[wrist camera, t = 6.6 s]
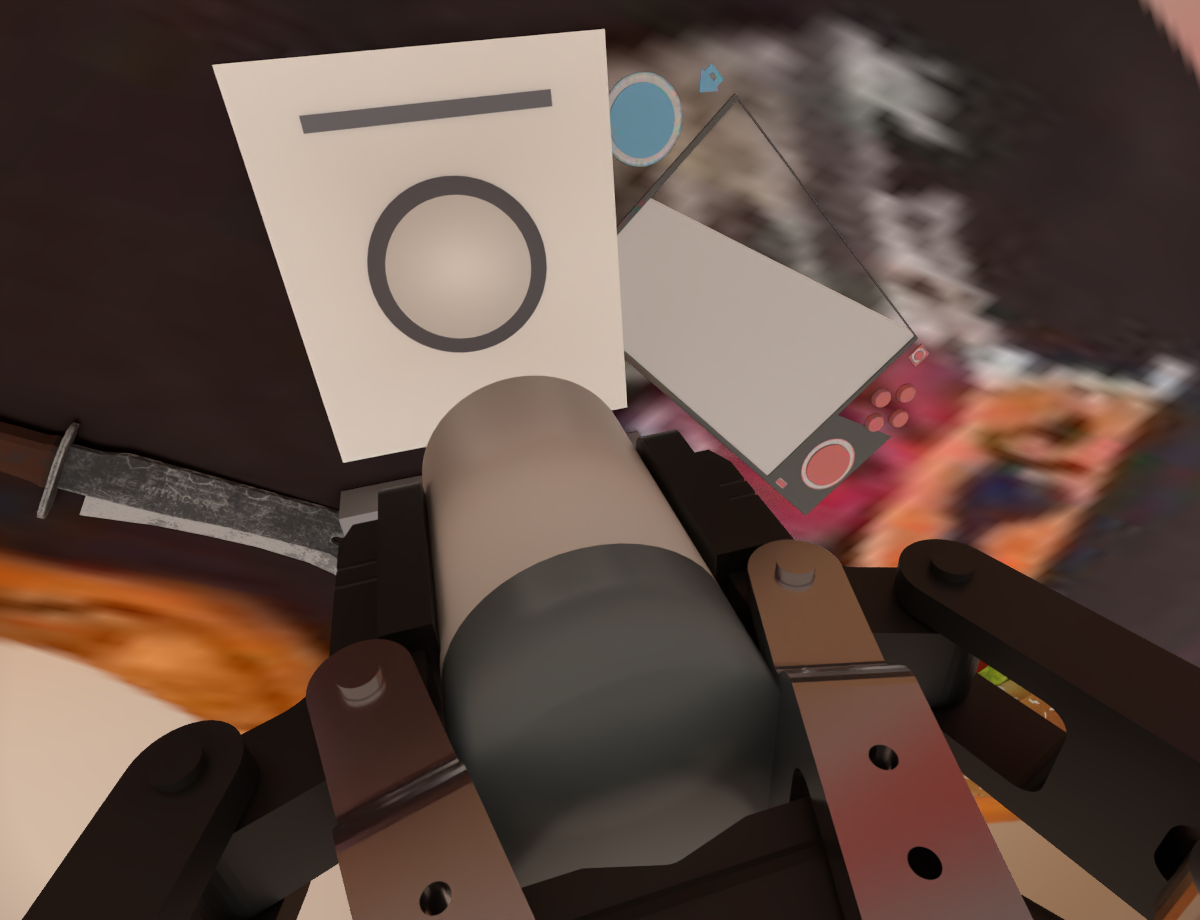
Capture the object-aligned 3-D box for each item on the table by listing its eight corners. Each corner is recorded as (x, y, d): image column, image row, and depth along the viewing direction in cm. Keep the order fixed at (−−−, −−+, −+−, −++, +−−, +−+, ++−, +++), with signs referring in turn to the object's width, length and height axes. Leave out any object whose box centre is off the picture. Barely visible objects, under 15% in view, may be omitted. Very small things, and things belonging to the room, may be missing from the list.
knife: (487, 615, 36) (533, 544, 35) (494, 643, 35) (542, 571, 33) (-207, 462, 23) (-187, 335, 21) (-249, 496, 21) (-230, 362, 20)
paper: (602, 29, 23) (605, 28, 22) (625, 404, 30) (628, 409, 30) (214, 64, 20) (211, 65, 20) (343, 459, 28) (343, 464, 28)
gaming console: (956, 382, 34) (807, 519, 36) (947, 376, 35) (800, 512, 37) (676, 3, 23) (481, 238, 25) (669, 3, 23) (479, 233, 25)
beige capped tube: (620, 357, 13) (817, 625, 7) (630, 527, 15) (787, 839, 9) (399, 398, 12) (417, 733, 6) (444, 570, 14) (489, 937, 8)
